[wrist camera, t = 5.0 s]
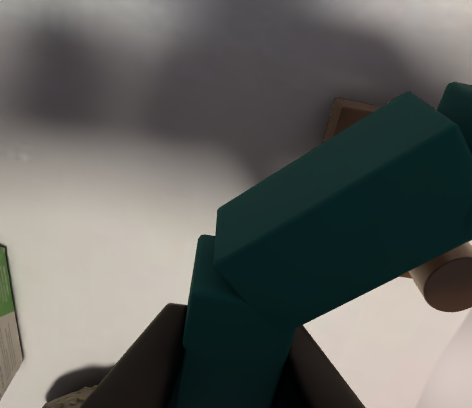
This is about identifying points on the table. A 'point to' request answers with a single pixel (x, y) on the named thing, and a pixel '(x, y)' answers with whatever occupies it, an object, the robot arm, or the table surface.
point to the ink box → (7, 330)
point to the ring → (323, 241)
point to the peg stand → (437, 270)
